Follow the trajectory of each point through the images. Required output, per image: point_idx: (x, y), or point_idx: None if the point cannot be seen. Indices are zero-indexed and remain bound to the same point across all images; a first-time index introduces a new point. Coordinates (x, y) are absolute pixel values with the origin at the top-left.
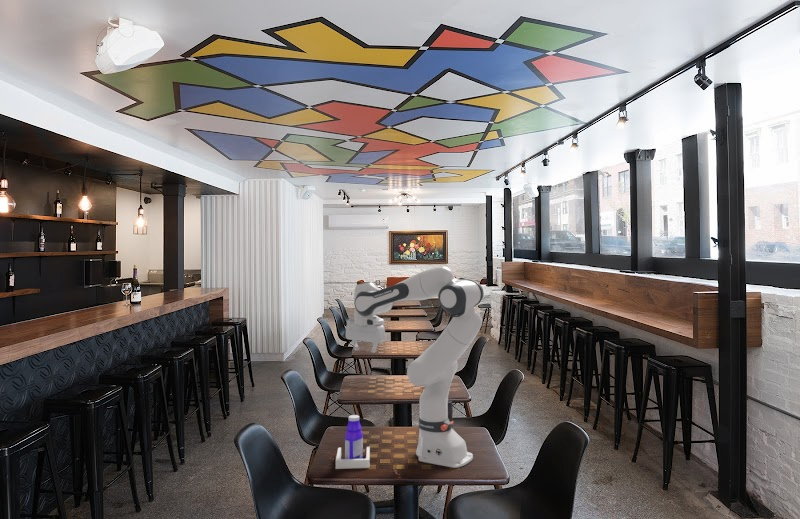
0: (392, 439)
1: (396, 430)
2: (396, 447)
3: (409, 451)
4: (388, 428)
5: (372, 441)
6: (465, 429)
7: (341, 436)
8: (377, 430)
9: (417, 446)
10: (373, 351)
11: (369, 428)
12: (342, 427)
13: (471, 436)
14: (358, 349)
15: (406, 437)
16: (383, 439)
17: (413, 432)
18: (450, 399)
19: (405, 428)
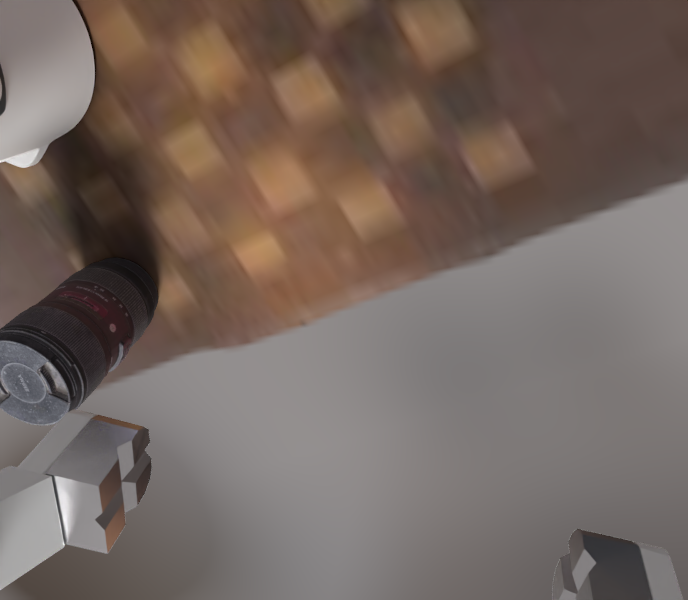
0: (289, 126)
1: (341, 251)
2: (205, 29)
3: (118, 12)
4: (395, 261)
5: (372, 43)
6: None
7: (607, 21)
8: (436, 211)
9: (47, 11)
10: (62, 431)
11: (496, 221)
12: (676, 168)
13: (24, 308)
14: (561, 575)
15: (243, 184)
16: (332, 103)
17: (252, 259)
18: (6, 411)
19: (316, 292)
